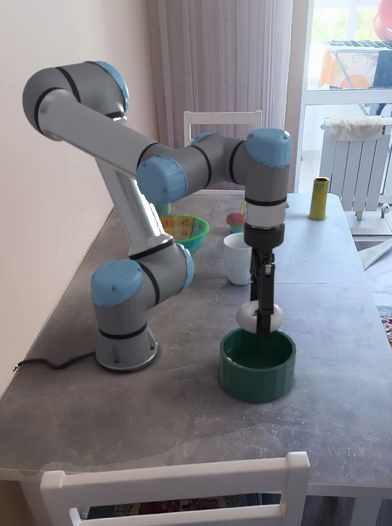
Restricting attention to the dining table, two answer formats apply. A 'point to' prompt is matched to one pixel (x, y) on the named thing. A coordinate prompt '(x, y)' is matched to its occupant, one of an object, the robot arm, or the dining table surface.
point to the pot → (257, 365)
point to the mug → (237, 259)
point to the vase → (319, 199)
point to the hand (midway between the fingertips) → (259, 322)
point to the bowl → (185, 230)
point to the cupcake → (236, 221)
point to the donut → (249, 321)
